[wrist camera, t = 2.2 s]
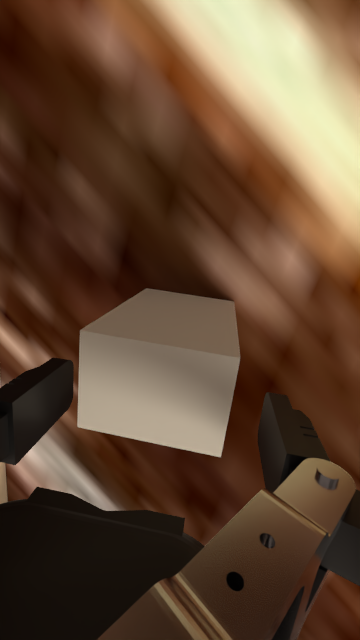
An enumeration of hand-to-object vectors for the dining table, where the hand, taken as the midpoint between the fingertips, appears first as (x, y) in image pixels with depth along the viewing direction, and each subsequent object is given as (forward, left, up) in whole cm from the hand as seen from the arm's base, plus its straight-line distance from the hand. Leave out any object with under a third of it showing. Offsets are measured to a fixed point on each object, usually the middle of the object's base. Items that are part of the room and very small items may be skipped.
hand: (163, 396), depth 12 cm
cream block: (-1, 0, -8) cm, 8 cm away
